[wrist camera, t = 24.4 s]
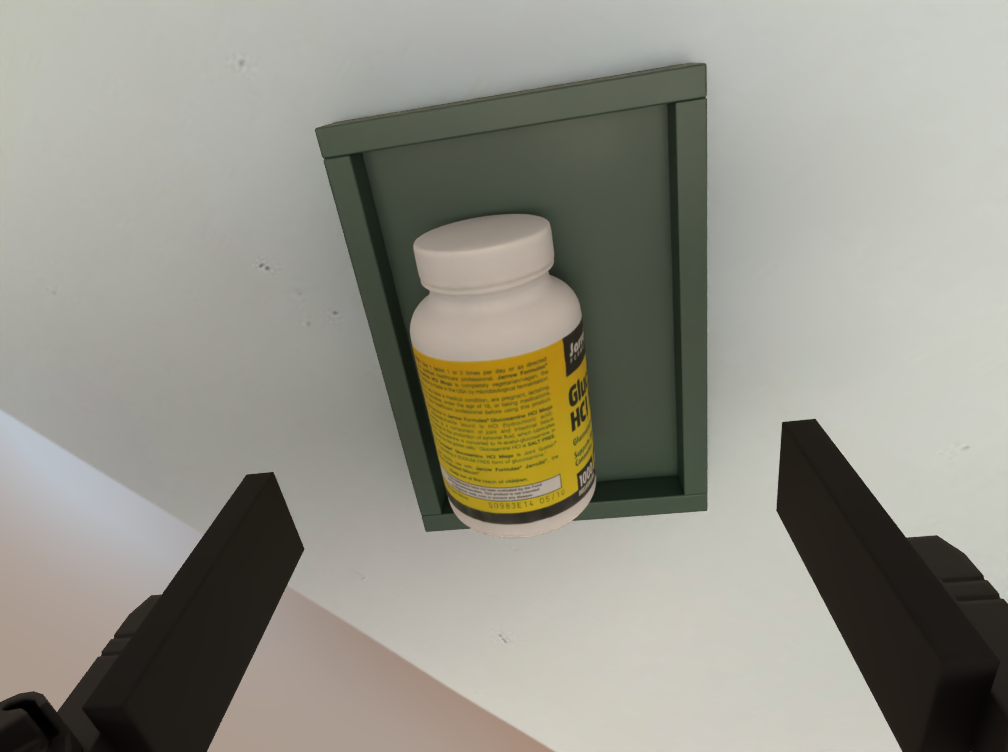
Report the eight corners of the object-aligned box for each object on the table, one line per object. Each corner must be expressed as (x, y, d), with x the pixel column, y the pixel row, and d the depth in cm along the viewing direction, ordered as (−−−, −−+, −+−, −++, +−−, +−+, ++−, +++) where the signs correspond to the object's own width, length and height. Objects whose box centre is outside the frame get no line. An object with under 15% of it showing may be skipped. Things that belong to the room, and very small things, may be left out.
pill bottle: (616, 528, 23) (594, 237, 17) (453, 559, 22) (383, 273, 17) (579, 438, 28) (554, 197, 23) (448, 462, 28) (394, 225, 23)
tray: (334, 122, 23) (313, 128, 21) (691, 62, 21) (706, 62, 19) (433, 501, 31) (425, 532, 29) (696, 479, 29) (707, 511, 27)
